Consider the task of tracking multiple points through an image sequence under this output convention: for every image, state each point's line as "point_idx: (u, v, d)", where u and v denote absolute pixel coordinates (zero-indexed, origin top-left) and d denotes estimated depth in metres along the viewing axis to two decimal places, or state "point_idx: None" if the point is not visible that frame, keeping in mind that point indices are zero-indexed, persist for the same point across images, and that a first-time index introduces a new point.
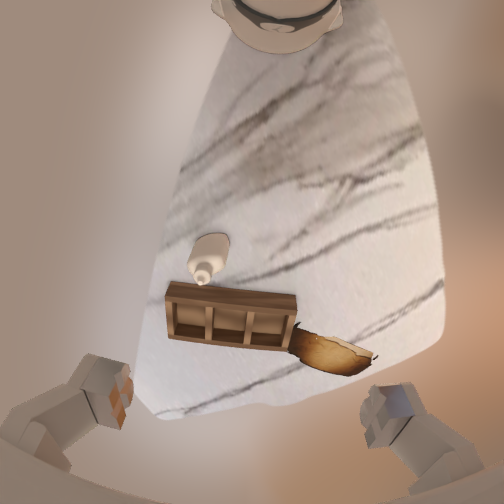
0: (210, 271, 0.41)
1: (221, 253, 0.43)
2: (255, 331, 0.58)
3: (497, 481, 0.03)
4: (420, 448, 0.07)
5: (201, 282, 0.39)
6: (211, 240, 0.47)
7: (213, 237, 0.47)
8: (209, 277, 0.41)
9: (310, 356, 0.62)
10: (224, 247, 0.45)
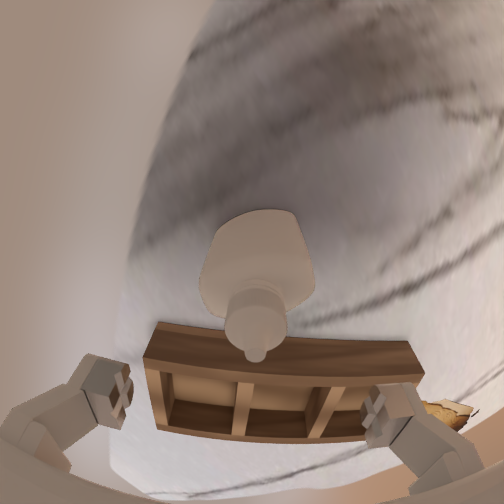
0: None
1: (306, 251, 0.14)
2: None
3: (497, 481, 0.03)
4: (420, 448, 0.07)
5: (261, 352, 0.10)
6: (263, 220, 0.18)
7: (265, 216, 0.18)
8: (283, 330, 0.11)
9: None
10: (302, 238, 0.16)
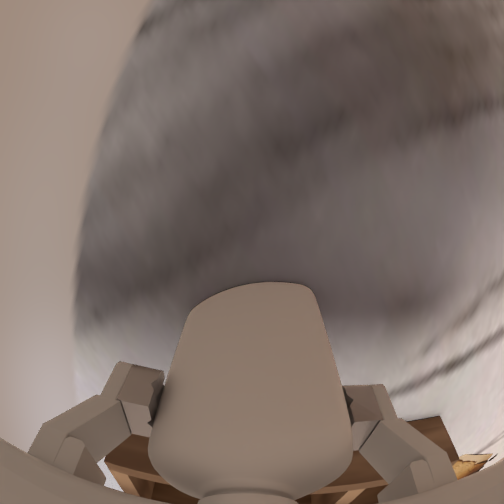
0: None
1: (344, 409, 0.06)
2: None
3: (497, 481, 0.03)
4: (389, 454, 0.07)
5: None
6: (262, 317, 0.10)
7: (266, 304, 0.11)
8: None
9: None
10: (332, 357, 0.09)
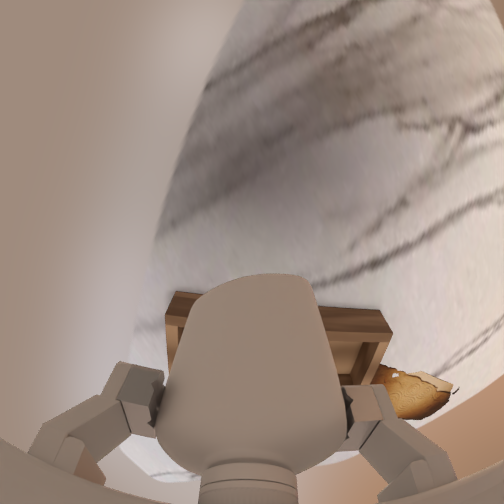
0: None
1: (337, 386, 0.07)
2: None
3: (497, 481, 0.03)
4: (389, 454, 0.07)
5: None
6: (260, 305, 0.11)
7: (265, 293, 0.12)
8: None
9: None
10: (327, 340, 0.09)
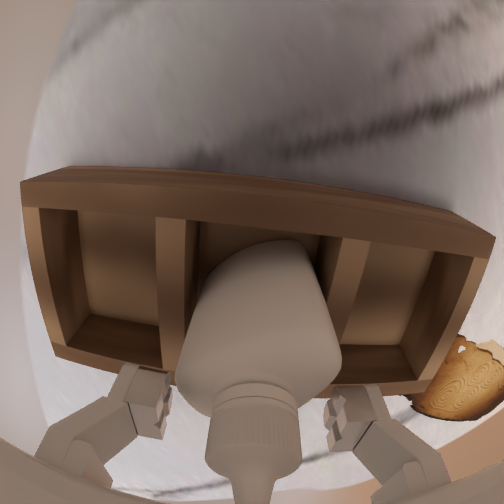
0: (293, 424, 0.07)
1: (321, 314, 0.09)
2: None
3: (497, 481, 0.03)
4: (382, 455, 0.07)
5: None
6: (256, 265, 0.13)
7: (260, 256, 0.13)
8: (296, 461, 0.06)
9: (436, 393, 0.21)
10: (315, 283, 0.11)
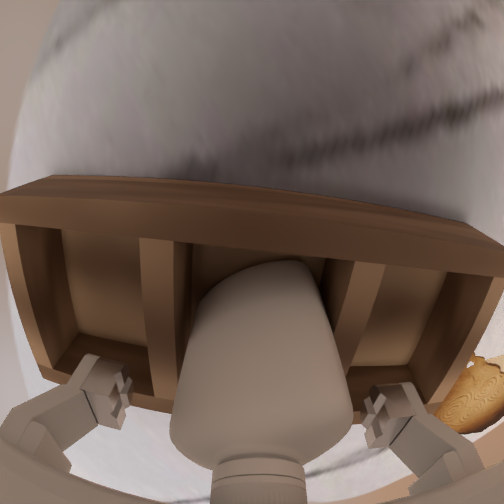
0: (300, 497, 0.05)
1: (333, 372, 0.07)
2: None
3: (497, 481, 0.03)
4: (420, 448, 0.07)
5: None
6: (256, 297, 0.11)
7: (260, 284, 0.12)
8: None
9: (442, 409, 0.19)
10: (325, 324, 0.09)
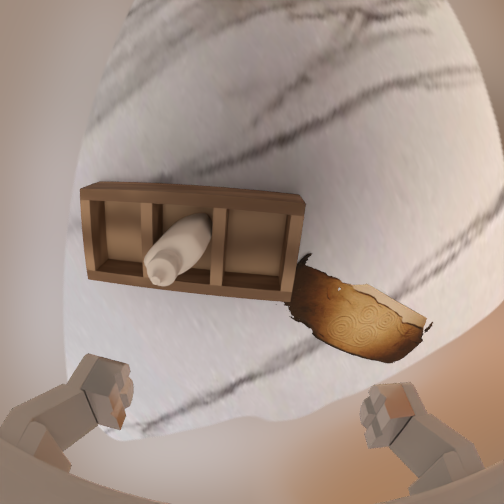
0: (175, 260, 0.23)
1: (194, 231, 0.25)
2: (233, 270, 0.34)
3: (497, 481, 0.03)
4: (420, 448, 0.07)
5: (157, 278, 0.21)
6: (182, 221, 0.29)
7: (185, 219, 0.30)
8: (173, 269, 0.22)
9: (330, 324, 0.37)
10: (201, 225, 0.27)
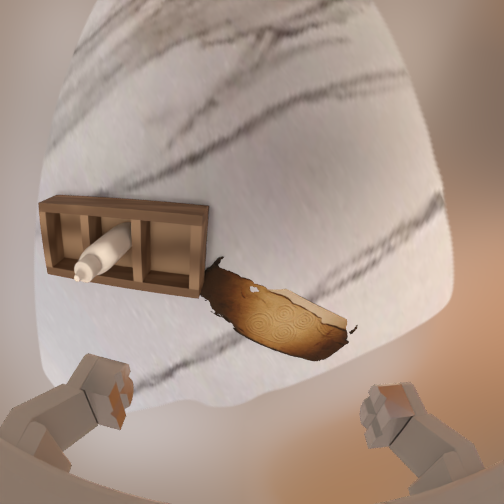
0: (93, 263, 0.28)
1: (111, 240, 0.30)
2: (157, 269, 0.39)
3: (497, 481, 0.03)
4: (420, 448, 0.07)
5: (77, 277, 0.26)
6: (111, 230, 0.34)
7: (114, 227, 0.34)
8: (90, 270, 0.27)
9: (247, 320, 0.42)
10: (121, 234, 0.32)
